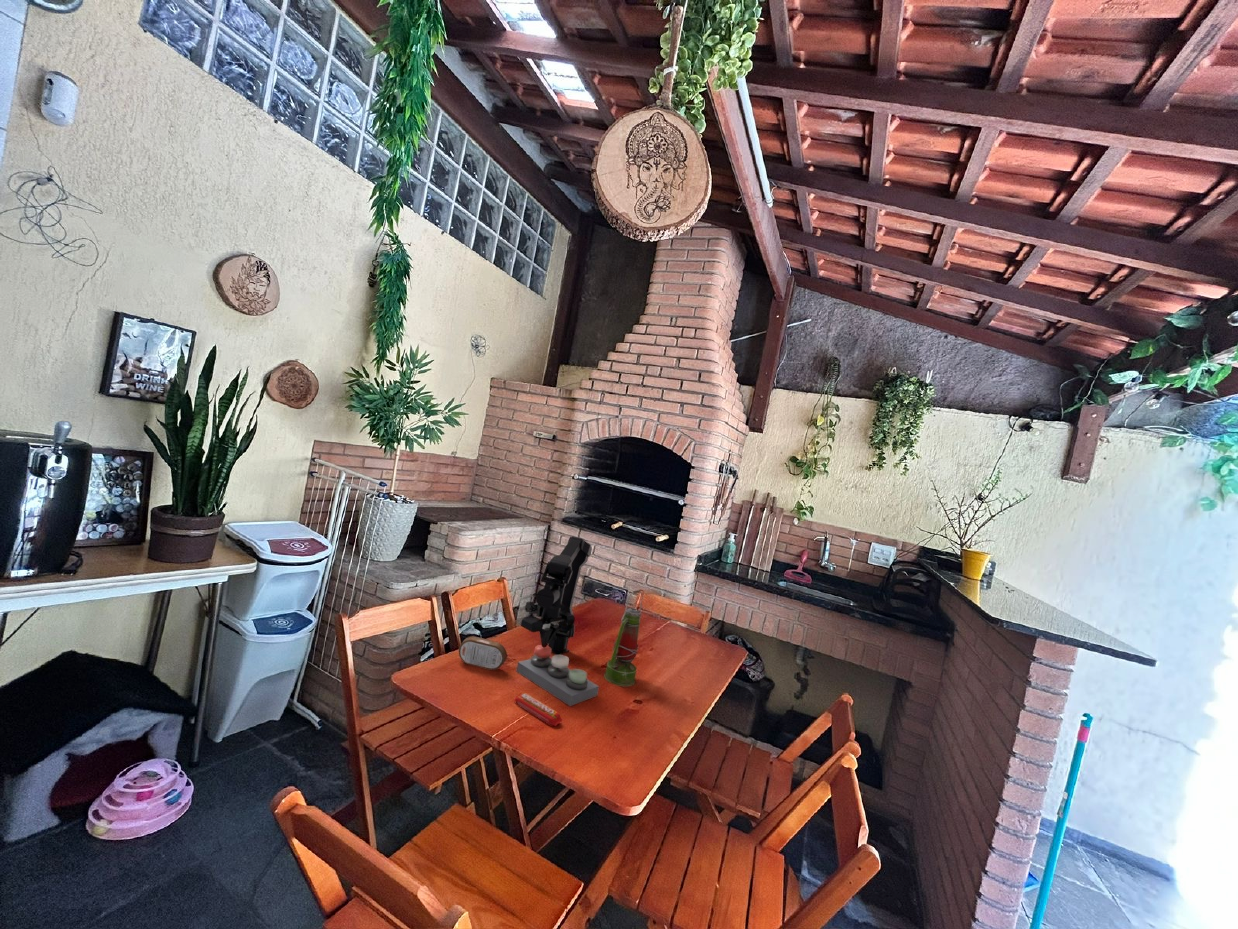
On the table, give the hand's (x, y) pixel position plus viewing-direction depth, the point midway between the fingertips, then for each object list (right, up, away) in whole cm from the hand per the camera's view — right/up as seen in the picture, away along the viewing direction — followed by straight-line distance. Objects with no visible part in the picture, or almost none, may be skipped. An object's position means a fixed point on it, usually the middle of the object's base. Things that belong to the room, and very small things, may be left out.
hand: (543, 646), depth 167 cm
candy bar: (+1, -10, -24) cm, 26 cm away
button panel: (+4, -10, -5) cm, 12 cm away
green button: (+11, -6, -10) cm, 16 cm away
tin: (-20, -5, -3) cm, 20 cm away
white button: (+6, -4, -5) cm, 8 cm away
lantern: (+24, -13, +7) cm, 28 cm away
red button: (0, -2, 0) cm, 2 cm away
